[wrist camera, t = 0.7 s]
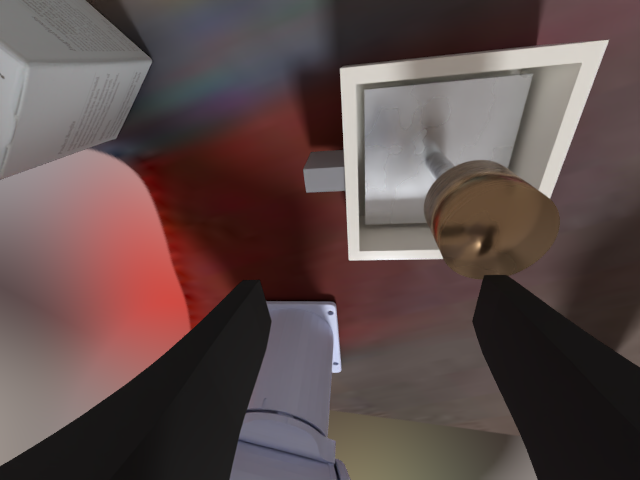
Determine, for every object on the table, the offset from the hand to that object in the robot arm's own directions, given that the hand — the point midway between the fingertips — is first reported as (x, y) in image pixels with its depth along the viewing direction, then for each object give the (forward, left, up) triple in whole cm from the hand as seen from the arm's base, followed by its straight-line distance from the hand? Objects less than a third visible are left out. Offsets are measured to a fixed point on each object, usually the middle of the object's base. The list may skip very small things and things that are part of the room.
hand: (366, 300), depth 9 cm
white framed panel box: (+2, -4, -10) cm, 11 cm away
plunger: (+2, -4, -9) cm, 10 cm away
